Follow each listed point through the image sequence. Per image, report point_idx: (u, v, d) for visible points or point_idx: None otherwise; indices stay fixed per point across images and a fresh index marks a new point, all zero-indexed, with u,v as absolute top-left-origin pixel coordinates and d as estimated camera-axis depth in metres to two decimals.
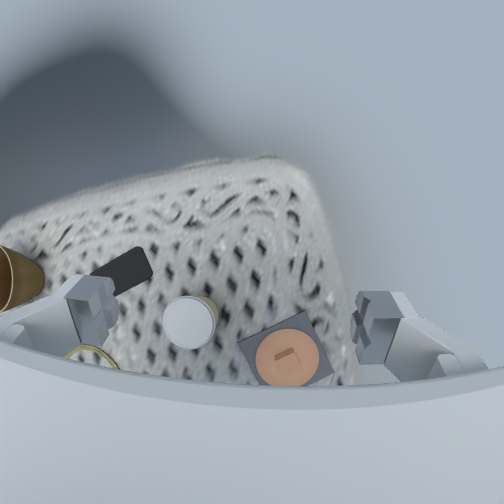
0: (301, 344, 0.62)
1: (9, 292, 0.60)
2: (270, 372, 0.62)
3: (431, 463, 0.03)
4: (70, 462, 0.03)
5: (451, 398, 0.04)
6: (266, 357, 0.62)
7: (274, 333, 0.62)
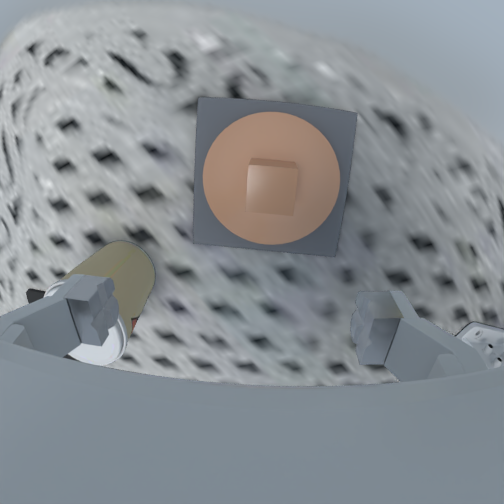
0: (256, 138, 0.28)
1: None
2: (277, 224, 0.31)
3: (431, 463, 0.03)
4: (70, 462, 0.03)
5: (451, 398, 0.04)
6: (244, 215, 0.31)
7: (205, 175, 0.29)
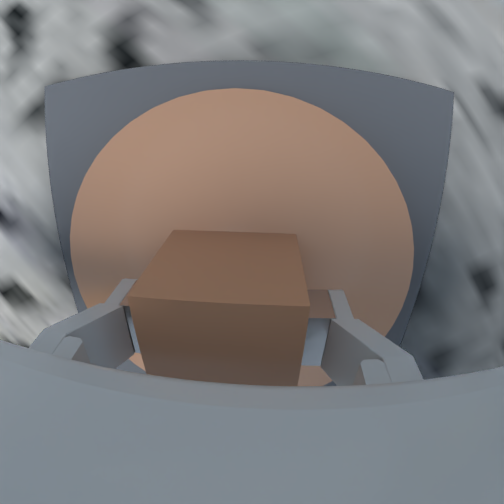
0: (179, 173, 0.09)
1: None
2: None
3: (431, 463, 0.03)
4: (70, 462, 0.03)
5: (451, 398, 0.04)
6: None
7: (79, 274, 0.11)
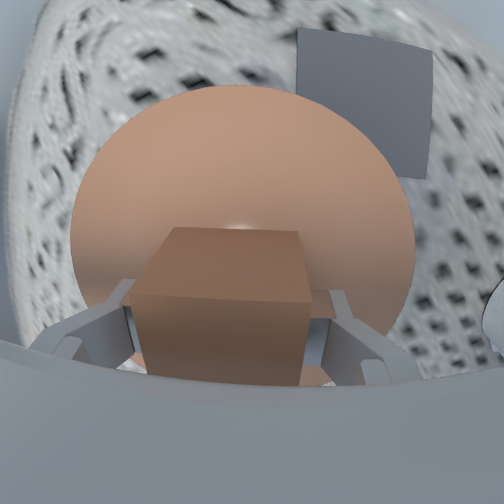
0: (180, 170, 0.09)
1: None
2: None
3: (431, 463, 0.03)
4: (70, 462, 0.03)
5: (451, 398, 0.04)
6: None
7: (79, 272, 0.11)
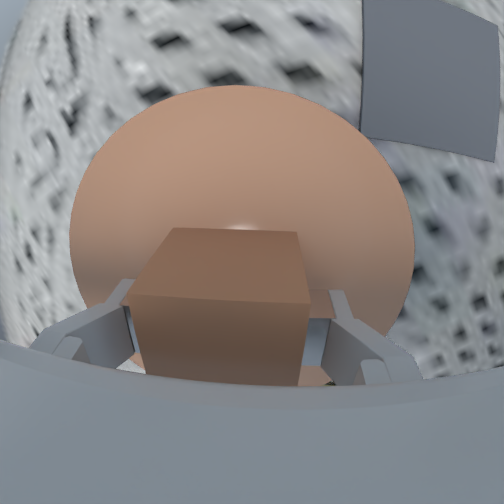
0: (179, 170, 0.09)
1: None
2: None
3: (431, 463, 0.03)
4: (70, 461, 0.03)
5: (451, 398, 0.04)
6: None
7: (78, 272, 0.11)
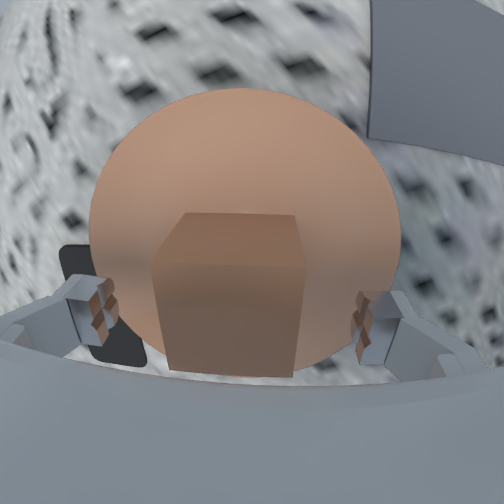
0: (191, 162, 0.11)
1: None
2: None
3: (431, 463, 0.03)
4: (70, 461, 0.03)
5: (450, 398, 0.04)
6: None
7: (96, 256, 0.13)
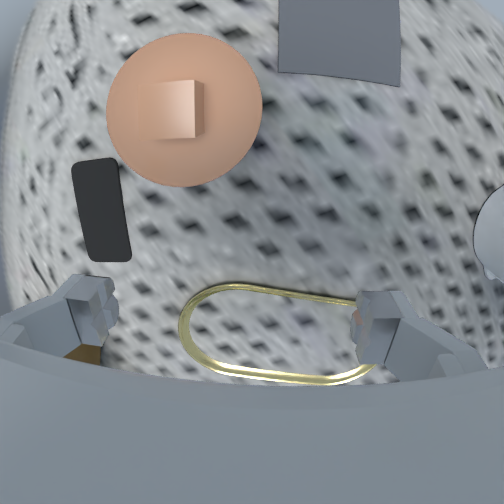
0: (158, 65, 0.21)
1: None
2: (192, 160, 0.25)
3: (431, 462, 0.03)
4: (69, 462, 0.03)
5: (451, 398, 0.04)
6: (153, 154, 0.24)
7: (109, 116, 0.23)
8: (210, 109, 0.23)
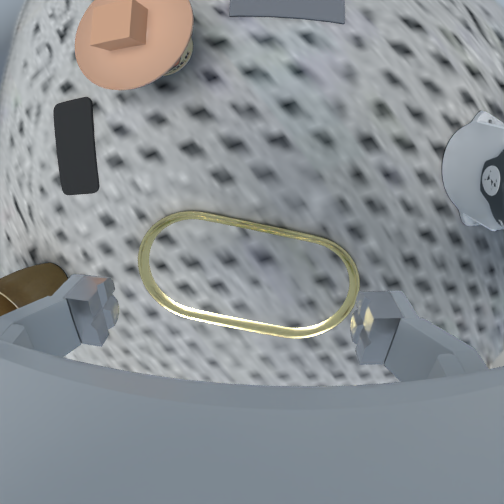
0: (116, 0, 0.22)
1: None
2: (135, 67, 0.25)
3: (431, 463, 0.03)
4: (70, 461, 0.03)
5: (451, 398, 0.04)
6: (106, 66, 0.25)
7: (76, 41, 0.24)
8: (151, 27, 0.23)
